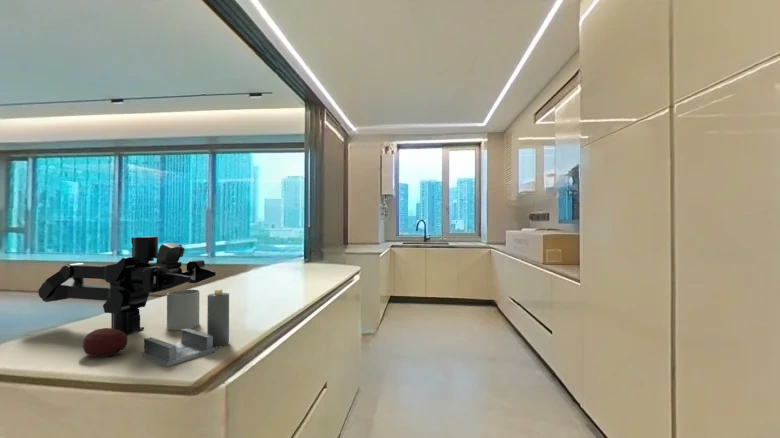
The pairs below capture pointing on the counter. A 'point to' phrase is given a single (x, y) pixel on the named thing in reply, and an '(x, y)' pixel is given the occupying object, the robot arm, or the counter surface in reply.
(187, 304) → the cup
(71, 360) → the counter surface
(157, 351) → the housing
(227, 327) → the plug
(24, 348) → the counter surface
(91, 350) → the potato
